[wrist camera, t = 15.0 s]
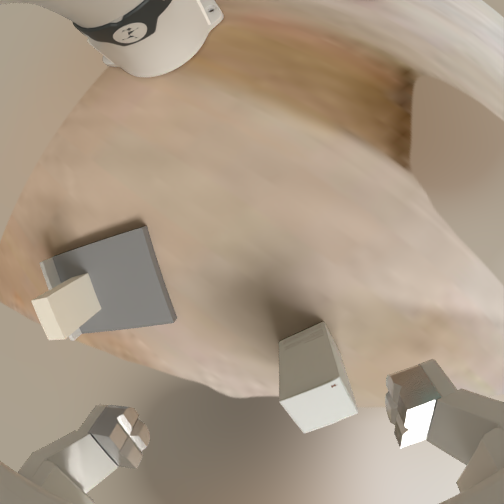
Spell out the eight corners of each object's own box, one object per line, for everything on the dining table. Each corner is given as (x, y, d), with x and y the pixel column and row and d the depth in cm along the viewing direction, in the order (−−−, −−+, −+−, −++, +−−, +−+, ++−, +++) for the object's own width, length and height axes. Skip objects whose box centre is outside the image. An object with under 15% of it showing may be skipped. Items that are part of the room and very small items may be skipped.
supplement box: (277, 340, 39) (276, 400, 27) (324, 319, 38) (341, 375, 26) (298, 374, 41) (302, 435, 28) (342, 356, 39) (360, 414, 27)
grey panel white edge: (53, 256, 39) (38, 263, 35) (146, 225, 37) (133, 230, 33) (81, 330, 42) (69, 340, 38) (177, 318, 40) (168, 331, 36)
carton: (101, 308, 39) (65, 339, 29) (84, 311, 39) (47, 340, 30) (88, 273, 38) (46, 297, 28) (70, 277, 38) (30, 300, 28)
